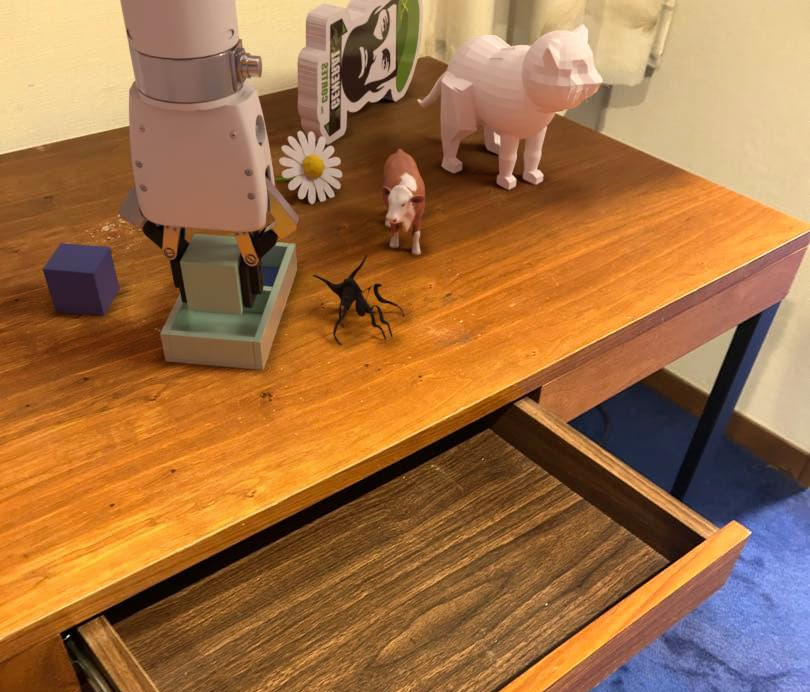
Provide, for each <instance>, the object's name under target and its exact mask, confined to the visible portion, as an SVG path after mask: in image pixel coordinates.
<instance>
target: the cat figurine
mask: <svg viewBox="0 0 810 692" xmlns="http://www.w3.org/2000/svg"><path fill="white" fill-rule="evenodd" d="M605 75H606V76H608V77H609V75H608V74H607V73H604V74H603V76H605ZM603 82H605V81H604V79H603V77H602V74H600V73H599V71H598V70H597V68H596V67H595V59H594V53H593V50H592V48H591V47H590V45H589V29H588V28H587V27H586V24H585V23H582V24H581V25H579V26H577V27H576V28H575V29H573V30H565V29H558V30H556V29H555V30H552V31H549V32H546V33H544V34H543V35H541V36H539V38H537V39H536V40H535V41H534V42H533V43H532V44H531V45H527V44H517V45H510V44H509V43H507V42H506V41H505V40H503V39H502V38H501V37H500V36H498V35H494V34H479V35H477V36H474V37H471V38H470V39H468V40H466V41H465V42H463V43H462V44H461V45H460V46H459V47H458V48H457V49H456V50H455V52H454V53H453V55H452V56H451V58H450V60H449V62H448V65H447V68H446V70H445V71H444V72H443V73H442V74H441V75H440V76H439V77H438V78H437V80H436V82H435V84H434V85H433V87H432V88H431V91H430V92H429V94H427V96H425V97H424V98H423V99H420V98H418V99H417V100H416V101H417V103H418V104H419V105H420V107H421V108H423V109H426V108H428V107H429V106H431V105H433V104H434V103H435V102H436V101H437V99H438V98H439V97H440V119H439V121H440V138H441V147H442V152H443V158H442V162H441V167H442V168H443V169H444V170H445V171H448V172H450V173H452V174H456V173H458V172H460V171H462V170H463V164H464V163H463V161H461V160H459V159H458V158H457V154H458V150H459V147H460V144H461V140H464V139H465V138H466V137H468V136H470V135H471V134H473V133H475V132H477V131H478V128H477V126H482V129H483V137H484V146H485V148H486V150H487V151H489V152H491V153H494V154H496V155H498V173H499V174H497V175H496V180H495V181H496V182H495V183H496V184H497V185H498V186H500V187H502V188H503V189H506V190H508V191H509V190H511V189H514V188H515V187H517V178H516V177H515V176H514V175H513V172H514V168H515V165H516V162H517V158H518V148H519V145H520V141H521V140H524V141H525V142H524V150H523V154H522V155H523V169H524V170H523V172H522V180H524V181H526V182H528V183H531V184H532V185H536V186H537V185H539V184H540V183H542V182H543V181H544V175H545V174H544V173H543V172H542V171H541V170H540V169H538V167H539V164H540V162H541V161H540V160H541V158H542V149H543V145H544V141H545V137H546V133H547V129H548V125H549V124H550V123H551V122H552V121H553V118H554V117H555V115H556V113H557V112H564V111H565V110H566V111H567V110H570V109H571V110H572V109H575V108H576V107H578V106H579V105H581V103H582V102H583V101H588V98H591V97H592V96H593V95H594V94H596V93H598V91H599V88H600V86H601V85H602V83H603ZM605 85H606V86H607V87H609V86H608V84H607V83H605Z"/></svg>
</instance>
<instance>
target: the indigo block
mask: <svg viewBox="0 0 810 692" xmlns="http://www.w3.org/2000/svg"><path fill="white" fill-rule="evenodd" d="M42 272H43V275H44V279H45V282H46V285H47V288H48V291H49V295H50V298H51V301H52V304H53V308H54V311H55V313H67V314H81V315H92V316H103V317H104V316H105V315H106V314H107V312H108V311H109V308H110V307H111V306H112V303H113V302H114V300H115V298H116V297H117V296H118V293H119V291H120V290H121V289H120V284H119V280H118V275H117V271H116V267H115V262H114V259H113V254H112V251H111V247H110V246H102V245H91V244H76V243H66V242H60V244H59V245H58V246H57V248H56V250H55V251H54V252H53V253H52V255H51V256H50V258H49V259H48V260H47V262H46V264H45V265H44V266H43V267H42Z"/></svg>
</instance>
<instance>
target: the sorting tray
mask: <svg viewBox="0 0 810 692" xmlns="http://www.w3.org/2000/svg"><path fill="white" fill-rule="evenodd" d="M261 261H262V271H263V281H264V287H263V292H262V294H261V295H260V294H257V296H256V299H255V301H254V304H253V306H252V308H244V310H243V313H242V315H237V314H224V313H212V312H200V311H189V310H188V304H187V303H183V302H182V299H181V294H180V293H179V294H178V297H177V299H176V300H175V302H174V305H173V306H172V308H171V311H170V313H169V315H168V317H167V319H166V321H165V323H164V325H163V326H162V329H161V331H160V333H159V336H160V340H161V345H162V350H163V356H164V358H165V360H164V361H165V362H168V363H179V364H191V365H203V366H212V367H213V366H215V367H225V368H226V367H227V368H237V369H247V370H259V371H264V370H265V366H266V364H267V362H268V358H269V355H270V352H271V349H272V346H273V343H274V340H275V338H276V334H277V331H278V329H279V325H280V322H281V319H282V317H283V313H284V311H285V307H286V304H287V302H288V299H289V296H290V293H291V290H292V287H293V284H294V282H295V278H296V276H297V272H298V259H297V244H296V243H295V242H294V243H292V242H282V241H281V242H280V241H279V242H277V243H276V244H275V246H274V247H273V248H272V249H270V250H269V251H268V252H267V253H266V254H265V255H264V256H263V257H262V258H261Z"/></svg>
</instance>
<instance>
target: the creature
mask: <svg viewBox="0 0 810 692" xmlns="http://www.w3.org/2000/svg"><path fill="white" fill-rule="evenodd" d="M367 258H368V254H366V253H365V255H364V258H363V260H362V261H361V262H360V264H359V265H358V266H357V267H356V268H355V269H353V271H352V272H351V273H350V275H349V276H348V277H347V278H344V279H343V281H342V282H340V283H334V282H331V281H329V280H328V279H326V278H324V277H321V276H318V275H316V274H313V275H312V277H315V278H317V280H320V281H322V282H323V283H325V284H326V286H327V287H328V288H329V289H330V290H331V292H333V293H334V294H335V295H336V296H337V297H338V298H339V299H340V303H339V307H338V308H339V310H338V319H337V320H336V322H335V324H334V327H333V330H332V331H333V332H332V333H333V334H332V335H333V338H334V340H335V342H336V343H337V344H338V345H340V346H342V345H343V343H341V342H340V341H339V339H338V338H337V336H336V334H337V331H338V327H339V325H340V323H341V326H342V328H345V327H344V323H342V322H343V320H344V319H345V317H346V316H347V314H348V312H349V310H350V309H351V307H352V305H353V303H354V302H355V303H354V304H355V305H354V306H355V312H356V314H357V315H358V316H359V317H362V318H363V317H364V316H366V314H370V318H371V326H372V327H373V328H378V329H379V330H380V331H381V333H382V337H383V339H384V341H387V337H386V334H385V331H384V330H383V327H382V326H381V325H379V324H377V323H376V321H377V320H376V316H375V314H376V311H373V310H374V307H375V308H376V309H377V312H378V316H379V321H380V322H381V324H383V325H386V326H387V328H388V333H389V336H390V337H391V338H394V337H393V333H392V329H391V324H390V323H389V322H388V321H387V320H385V318H384V314H383V311H382V309H381V307H380V306H379V305H376V304H374V305H372V306H371V305H370V304H369V303H368V298H369V297H368V296H369V293H370V290H371V289H372V288H373V293H374V297H375V298H376V299H377V301H378V302H379V303H382V304H386V305H387V304H388V305H392V306H394V307H397V308H399V310H400V311H401V313H402V317H405V313H404V311H403V309H402V308H401V307H400V305H399V304H397V303H395V302H393V301H390V300H388V299H385V298H384V297H383V296H382V295H381V294H380V292H379V288H381V287H383V285H382V284H381V283H374V284H373V285H370V286H369V287H367V288H365V289H364V290H362V288H361V286H359V284H358V282H357V280H355V276H356V275H357V274H358V272H359V271H360V270H361V269H362V268H363V266H364V264H365V262H366V260H367ZM367 290H368V291H367ZM366 291H367V292H368V293H367V296H366V298H365V296H364V293H365V292H366ZM342 307H343V312H342Z"/></svg>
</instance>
